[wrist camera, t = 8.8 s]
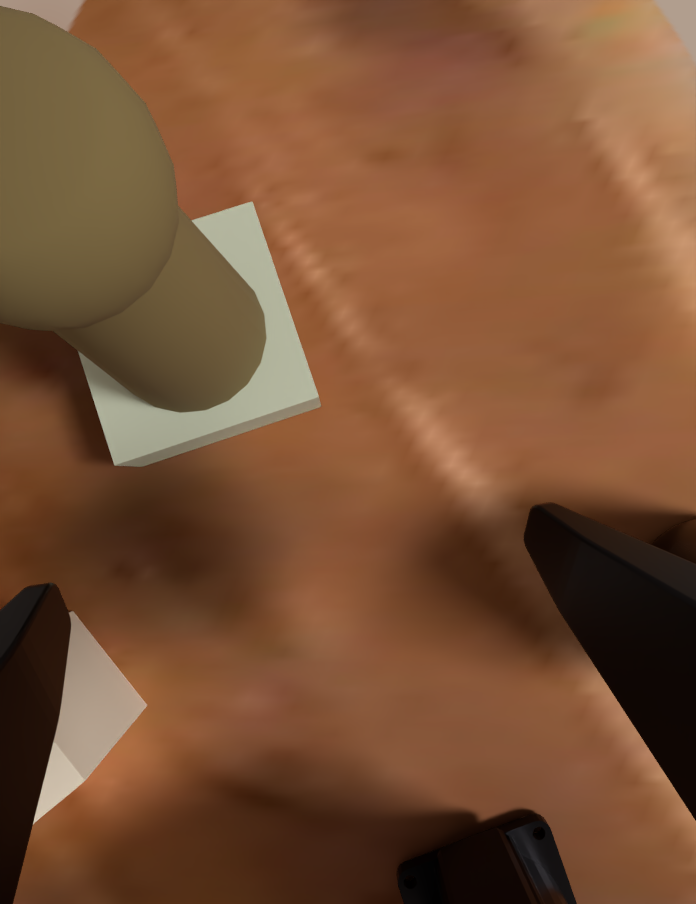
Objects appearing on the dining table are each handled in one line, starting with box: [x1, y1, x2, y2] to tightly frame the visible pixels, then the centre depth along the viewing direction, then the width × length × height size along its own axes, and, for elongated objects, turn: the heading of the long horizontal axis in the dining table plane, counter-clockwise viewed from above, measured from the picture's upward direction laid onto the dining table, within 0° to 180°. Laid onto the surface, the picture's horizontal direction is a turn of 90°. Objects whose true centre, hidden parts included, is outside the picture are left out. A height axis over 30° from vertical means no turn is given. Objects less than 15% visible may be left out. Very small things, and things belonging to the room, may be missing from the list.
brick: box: [33, 611, 147, 824], centre depth 17 cm, size 5×5×5 cm
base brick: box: [78, 202, 321, 467], centre depth 19 cm, size 8×8×2 cm
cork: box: [0, 6, 267, 413], centre depth 13 cm, size 6×6×11 cm
